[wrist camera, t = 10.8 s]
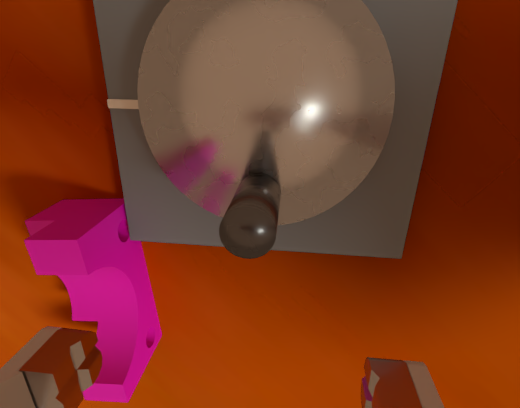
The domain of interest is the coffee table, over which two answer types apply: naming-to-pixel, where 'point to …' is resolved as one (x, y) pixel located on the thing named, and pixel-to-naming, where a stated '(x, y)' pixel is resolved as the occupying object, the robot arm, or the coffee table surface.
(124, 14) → the dial plate
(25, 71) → the coffee table surface
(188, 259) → the coffee table surface
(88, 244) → the toy block
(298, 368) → the coffee table surface
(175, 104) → the dial
